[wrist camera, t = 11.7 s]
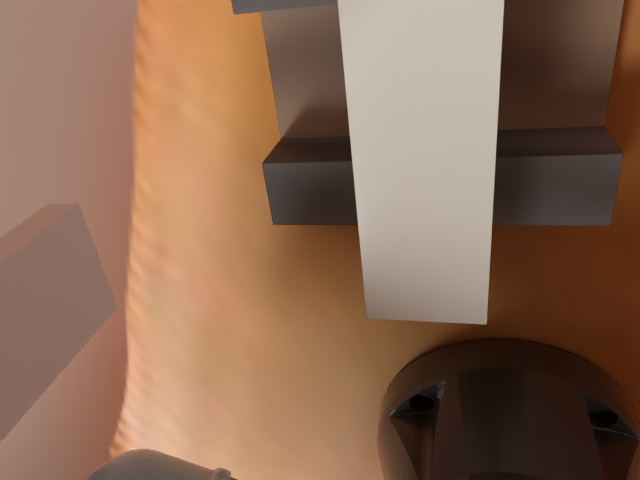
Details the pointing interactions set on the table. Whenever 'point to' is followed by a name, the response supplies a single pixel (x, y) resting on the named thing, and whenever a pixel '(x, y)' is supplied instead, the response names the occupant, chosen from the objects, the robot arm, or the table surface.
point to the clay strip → (423, 152)
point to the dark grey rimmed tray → (513, 113)
